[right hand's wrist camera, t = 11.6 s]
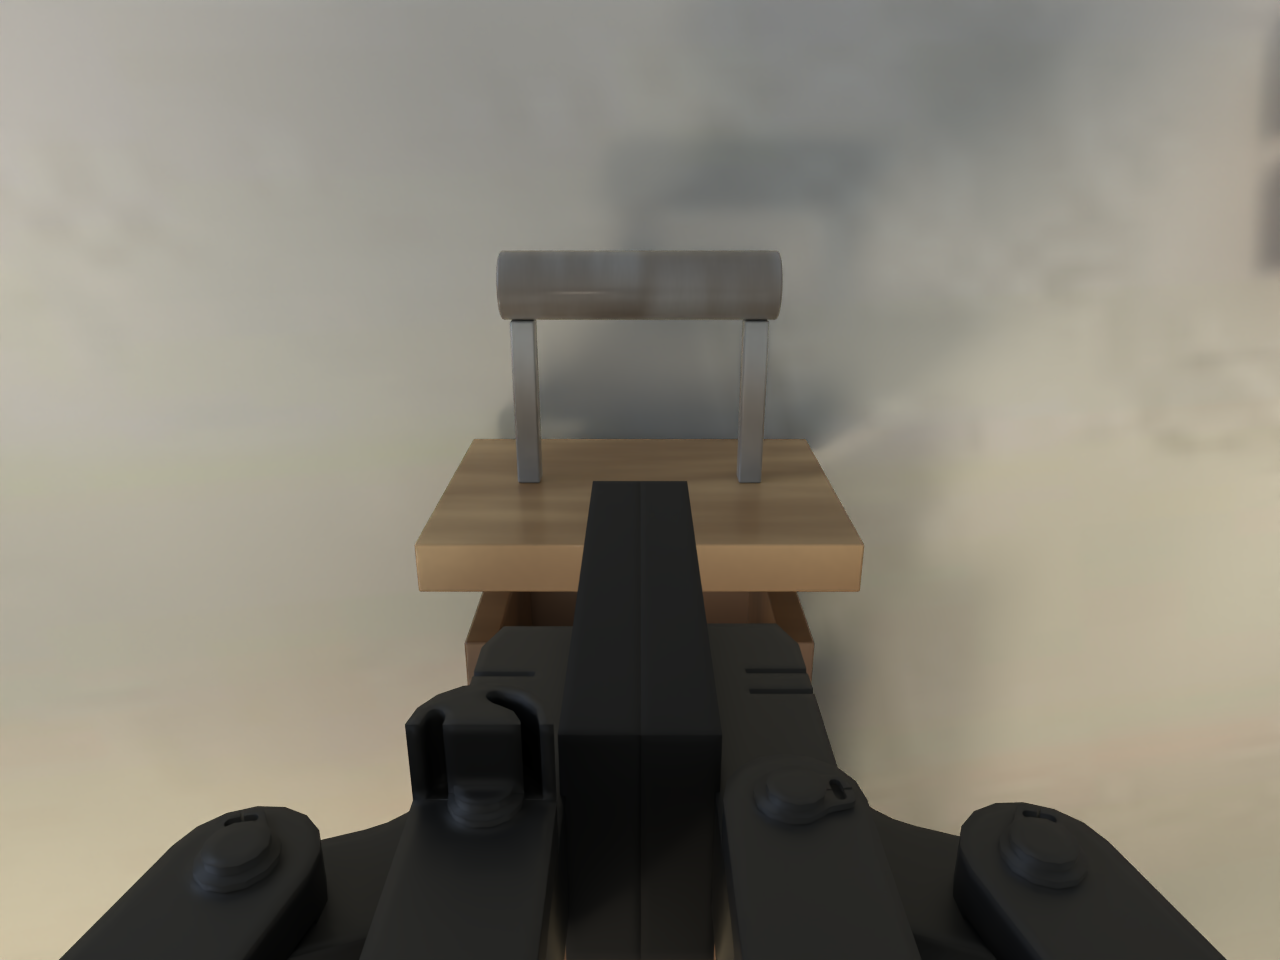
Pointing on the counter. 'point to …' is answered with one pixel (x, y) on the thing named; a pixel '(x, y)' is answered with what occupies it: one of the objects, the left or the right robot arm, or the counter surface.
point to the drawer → (639, 460)
